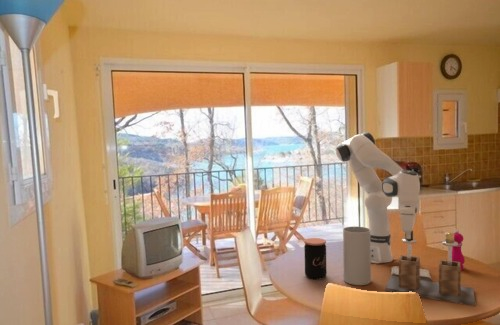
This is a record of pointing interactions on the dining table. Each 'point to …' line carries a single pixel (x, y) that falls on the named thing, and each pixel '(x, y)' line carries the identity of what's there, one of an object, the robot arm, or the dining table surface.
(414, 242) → the plunger left
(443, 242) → the plunger right
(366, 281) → the cylinder vase
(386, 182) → the robot arm
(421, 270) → the washcloth
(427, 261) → the dining table surface
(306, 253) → the coffee jar
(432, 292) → the grey holder stand
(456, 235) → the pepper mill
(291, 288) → the dining table surface
